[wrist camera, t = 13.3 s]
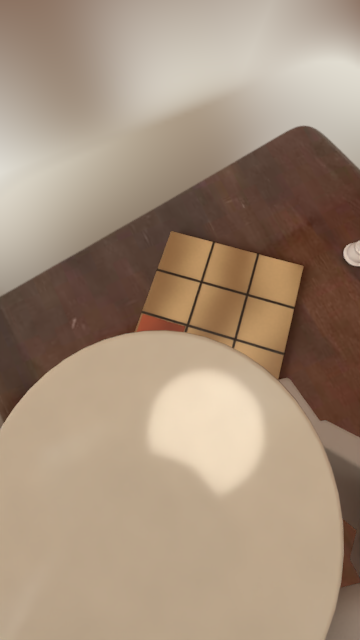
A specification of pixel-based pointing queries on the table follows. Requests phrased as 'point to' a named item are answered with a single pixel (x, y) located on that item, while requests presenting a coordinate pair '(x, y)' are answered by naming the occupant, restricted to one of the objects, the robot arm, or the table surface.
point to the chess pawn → (352, 253)
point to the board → (224, 297)
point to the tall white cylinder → (165, 500)
